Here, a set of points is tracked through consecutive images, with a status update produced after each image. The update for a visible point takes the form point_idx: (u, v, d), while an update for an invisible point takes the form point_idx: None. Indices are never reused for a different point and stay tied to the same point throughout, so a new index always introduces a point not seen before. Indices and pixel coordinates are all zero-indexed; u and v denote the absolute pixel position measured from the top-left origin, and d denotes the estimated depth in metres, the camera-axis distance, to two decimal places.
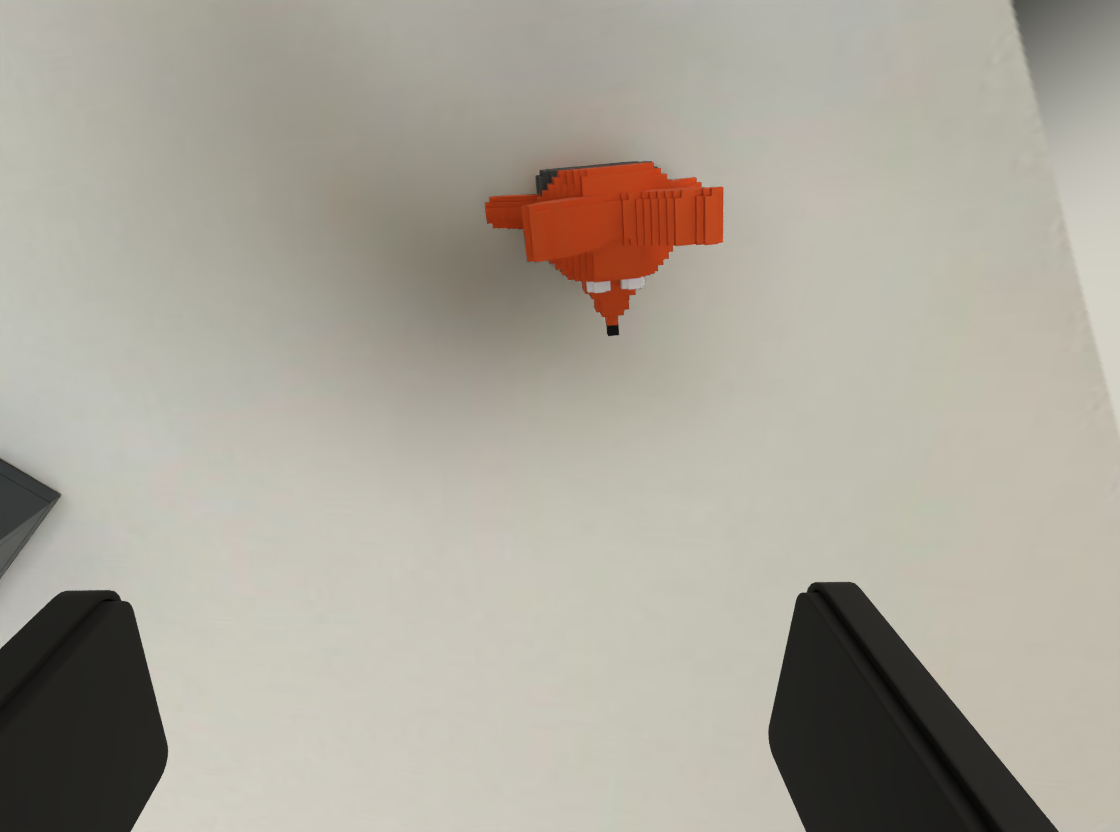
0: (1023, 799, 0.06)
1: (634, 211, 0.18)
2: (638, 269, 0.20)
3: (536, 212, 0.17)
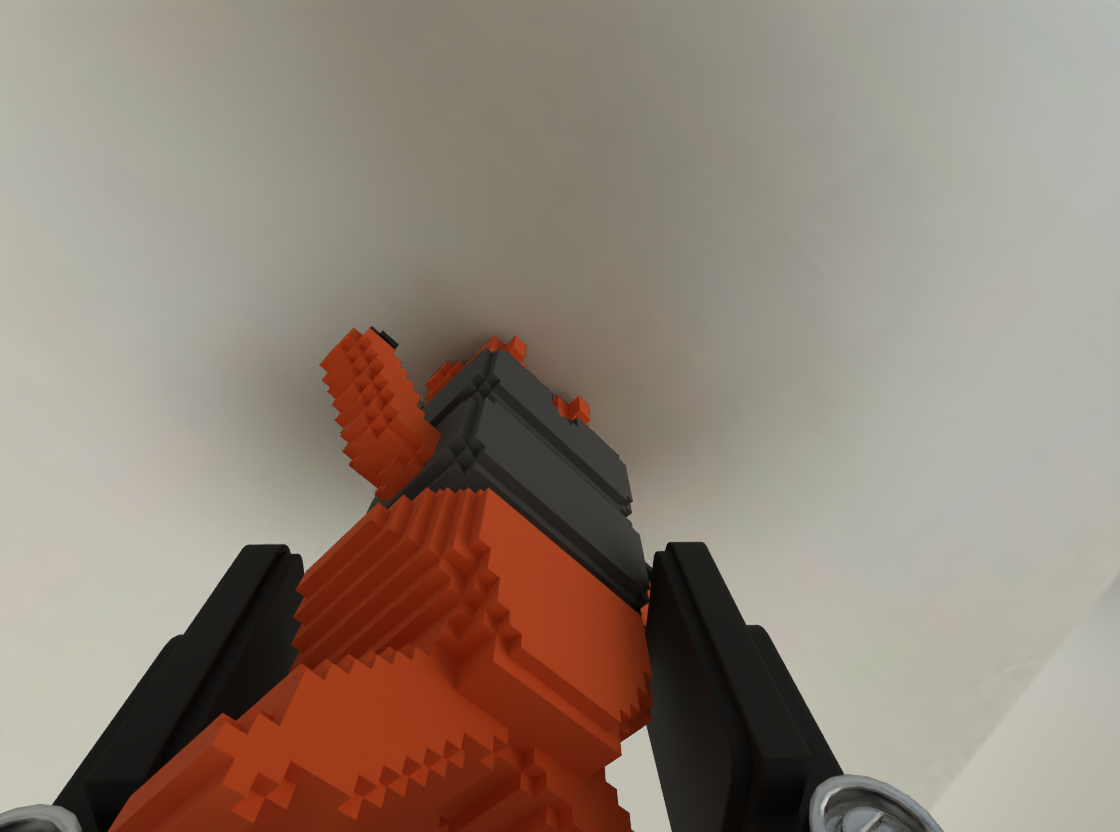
0: (783, 714, 0.07)
1: (520, 820, 0.06)
2: None
3: (233, 809, 0.04)
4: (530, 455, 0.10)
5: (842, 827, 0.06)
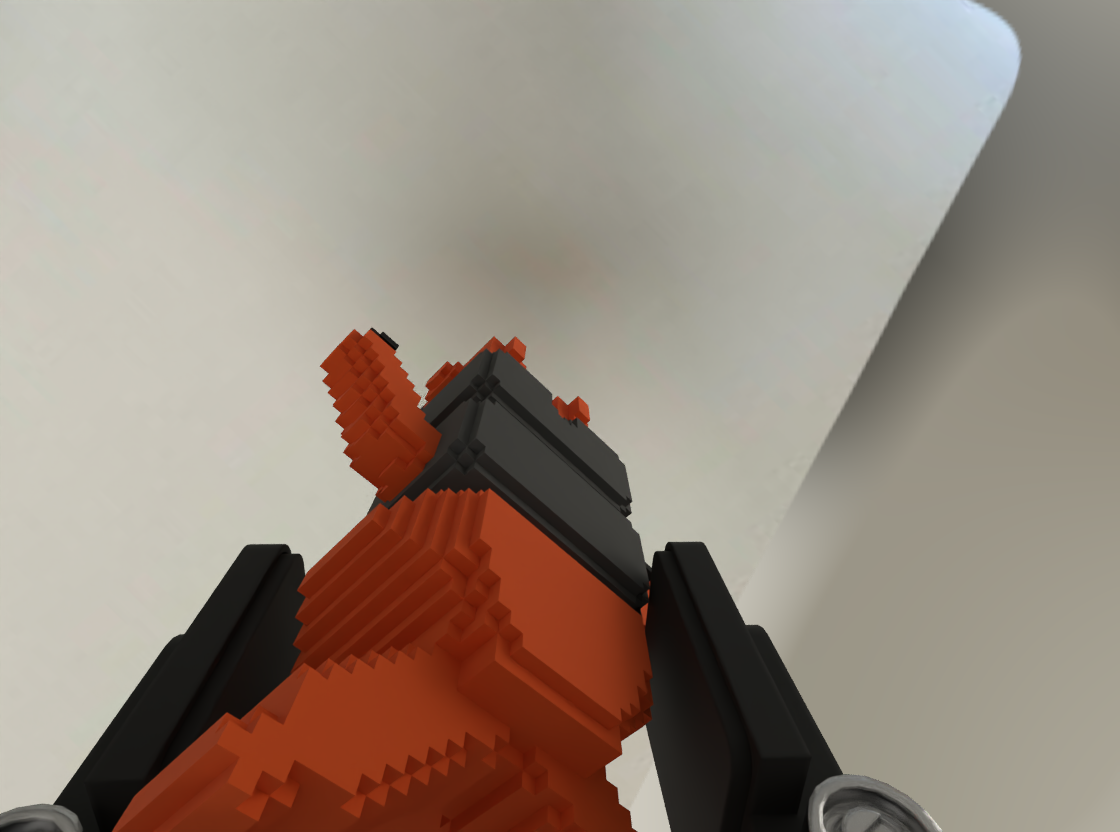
0: (782, 714, 0.07)
1: (521, 818, 0.07)
2: None
3: (237, 807, 0.04)
4: (530, 456, 0.10)
5: (841, 827, 0.06)
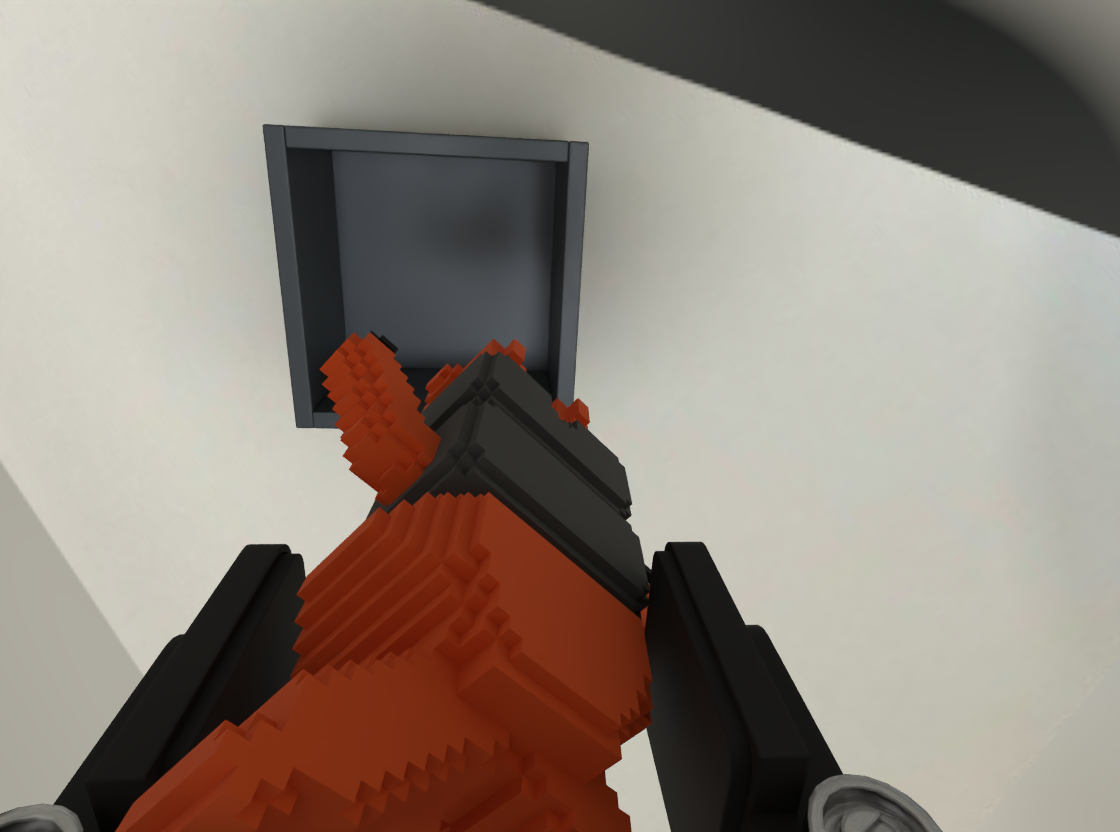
0: (782, 714, 0.07)
1: (521, 824, 0.07)
2: None
3: (236, 815, 0.04)
4: (530, 459, 0.10)
5: (841, 827, 0.06)
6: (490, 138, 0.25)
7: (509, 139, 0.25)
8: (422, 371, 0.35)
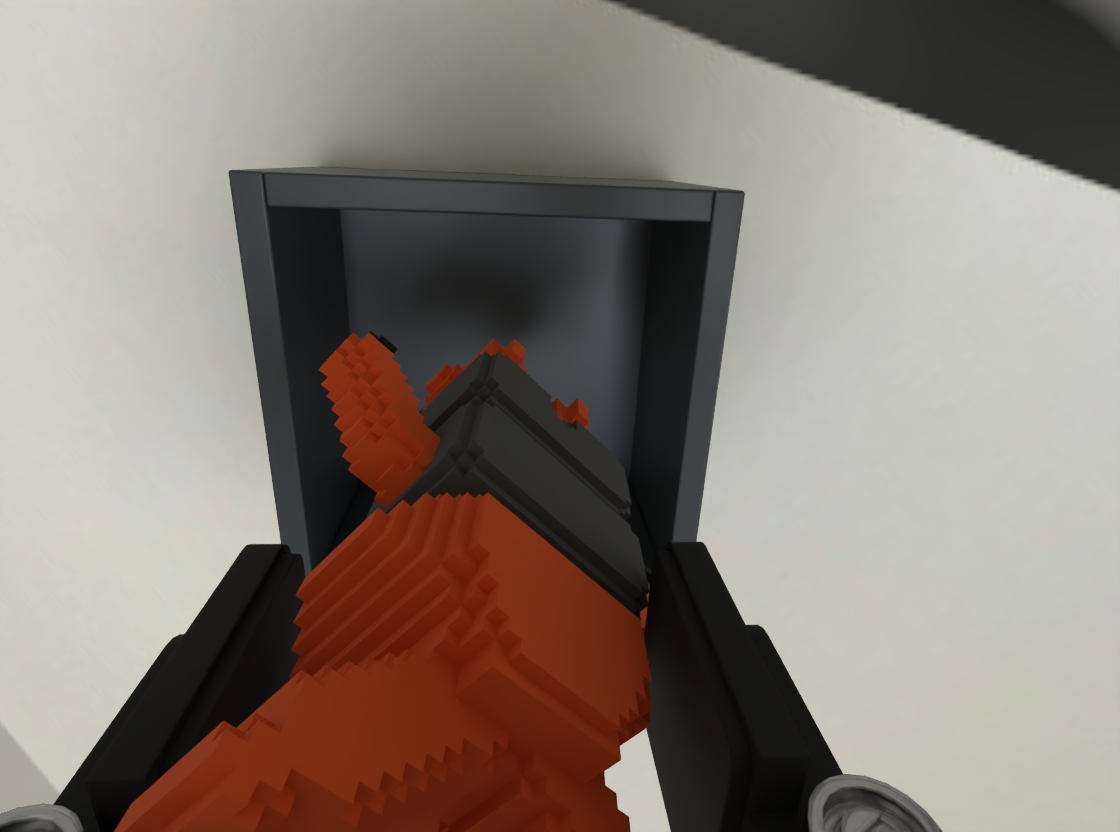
0: (782, 714, 0.07)
1: (519, 825, 0.06)
2: None
3: (234, 816, 0.04)
4: (529, 459, 0.10)
5: (841, 827, 0.06)
6: (591, 187, 0.16)
7: (621, 188, 0.16)
8: None
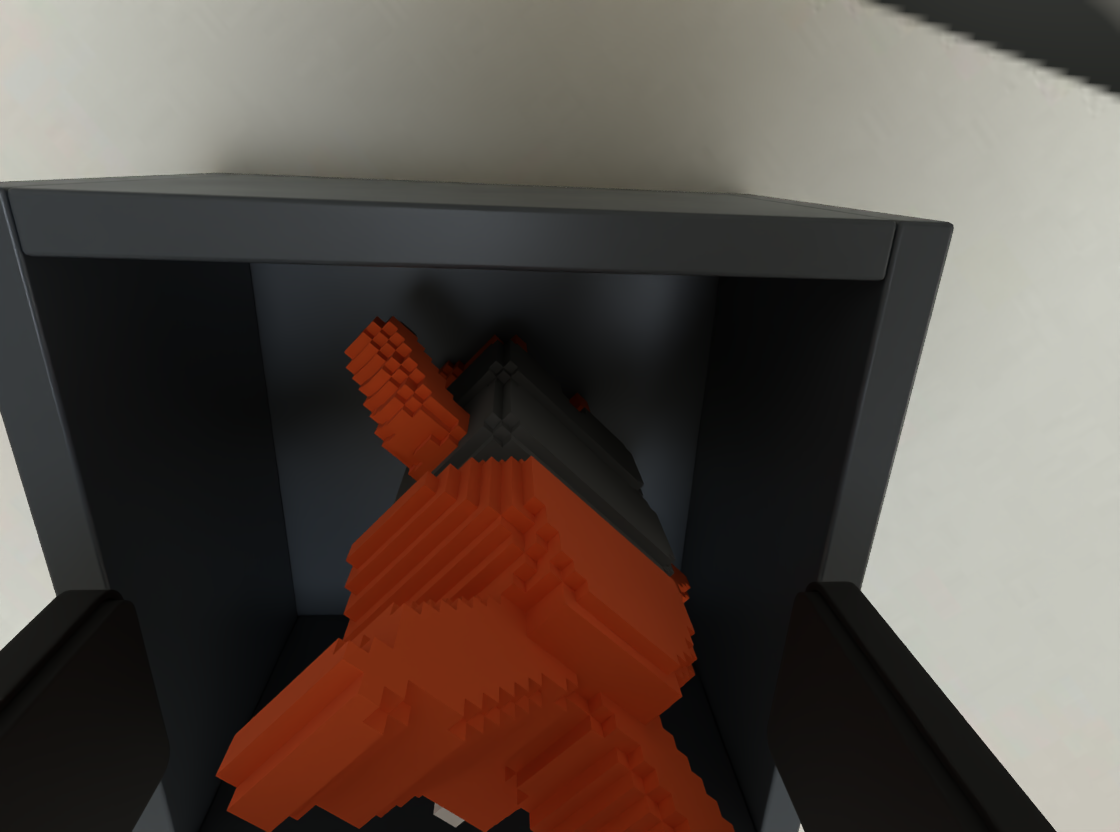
0: (1020, 798, 0.06)
1: (589, 764, 0.07)
2: (485, 822, 0.07)
3: (363, 720, 0.04)
4: (556, 433, 0.10)
5: None
6: (665, 217, 0.08)
7: (723, 219, 0.08)
8: None
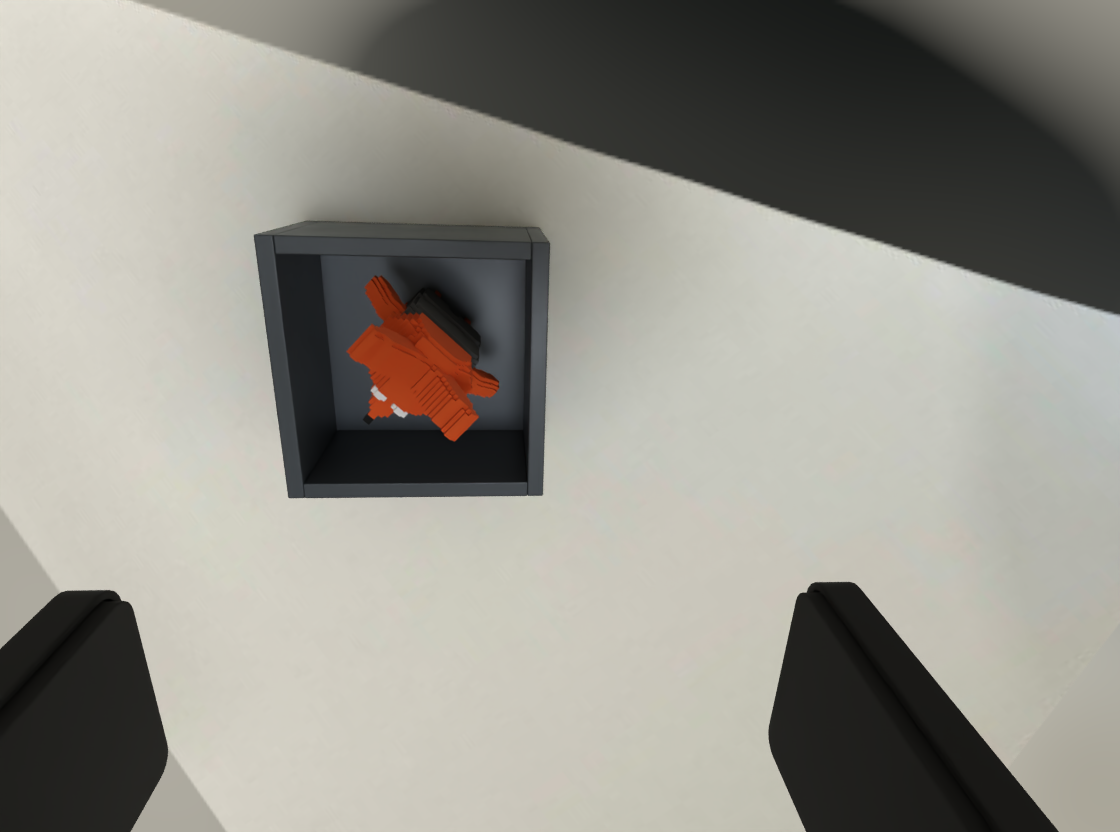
0: (1023, 799, 0.06)
1: (431, 380, 0.26)
2: (407, 407, 0.27)
3: (375, 335, 0.24)
4: (437, 314, 0.30)
5: None
6: (460, 241, 0.28)
7: (477, 242, 0.28)
8: (406, 433, 0.38)
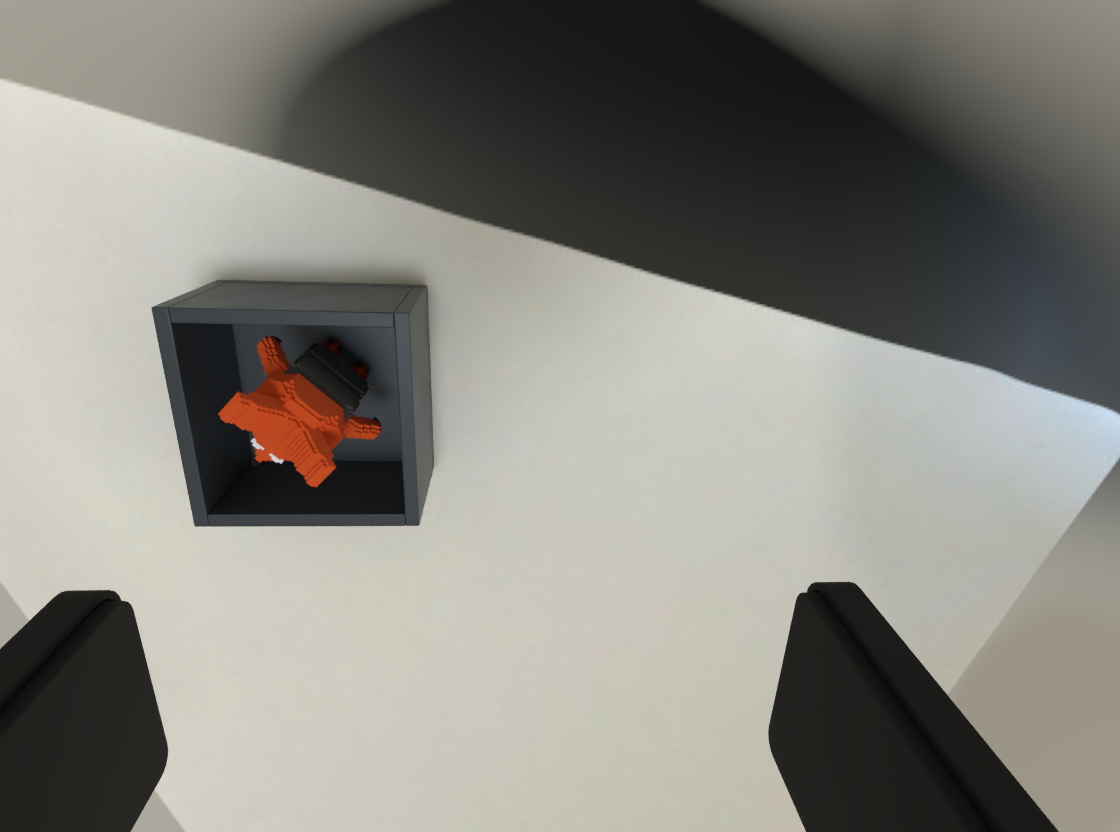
0: (1023, 800, 0.06)
1: (298, 435, 0.31)
2: (281, 456, 0.32)
3: (240, 401, 0.29)
4: (318, 370, 0.34)
5: None
6: (330, 312, 0.32)
7: (345, 313, 0.32)
8: None
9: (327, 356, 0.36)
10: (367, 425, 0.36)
